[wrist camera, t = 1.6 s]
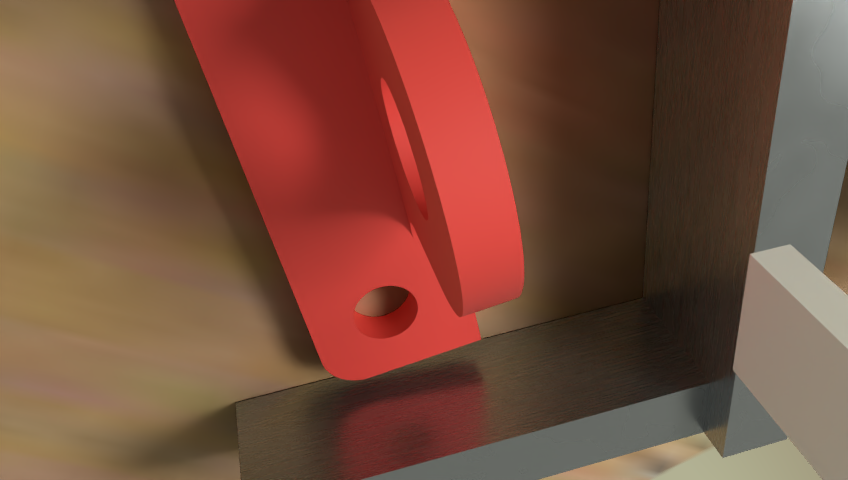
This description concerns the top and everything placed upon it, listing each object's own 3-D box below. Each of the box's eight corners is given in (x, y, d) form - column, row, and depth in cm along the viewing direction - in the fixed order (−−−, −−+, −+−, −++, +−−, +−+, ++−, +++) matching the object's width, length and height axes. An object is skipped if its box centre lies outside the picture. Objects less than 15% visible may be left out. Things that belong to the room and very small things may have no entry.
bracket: (168, -32, 17) (156, 119, 10) (371, -91, 17) (483, 19, 11) (327, 364, 24) (379, 603, 17) (469, 316, 24) (573, 531, 18)
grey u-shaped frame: (251, 448, 25) (264, 591, 20) (27, -192, 15) (-34, -161, 11) (814, 298, 27) (924, 398, 23) (949, -328, 17) (1183, -343, 13)
